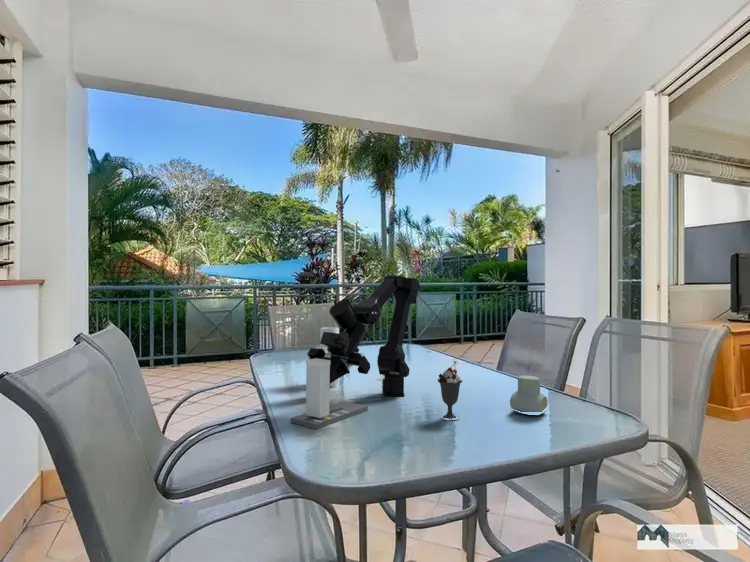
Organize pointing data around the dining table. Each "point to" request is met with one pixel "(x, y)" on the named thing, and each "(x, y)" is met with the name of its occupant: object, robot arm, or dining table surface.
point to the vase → (322, 346)
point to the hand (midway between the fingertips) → (323, 385)
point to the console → (330, 415)
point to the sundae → (449, 389)
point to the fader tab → (317, 387)
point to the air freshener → (528, 395)
